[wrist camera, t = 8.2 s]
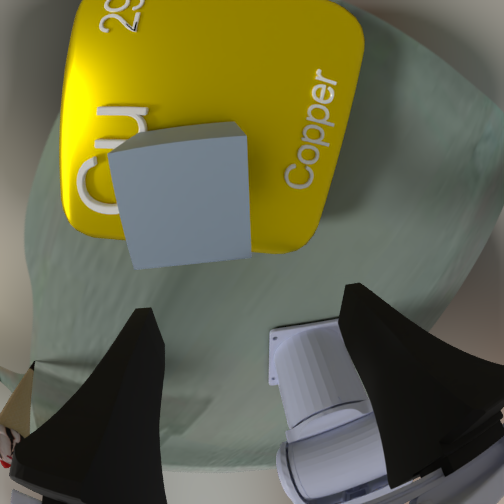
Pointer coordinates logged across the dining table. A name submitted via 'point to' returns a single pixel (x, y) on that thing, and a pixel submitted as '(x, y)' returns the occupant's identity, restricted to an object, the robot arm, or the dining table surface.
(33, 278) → the dining table surface
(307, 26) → the element tile
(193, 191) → the slate-blue cube
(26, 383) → the ice cream cone
